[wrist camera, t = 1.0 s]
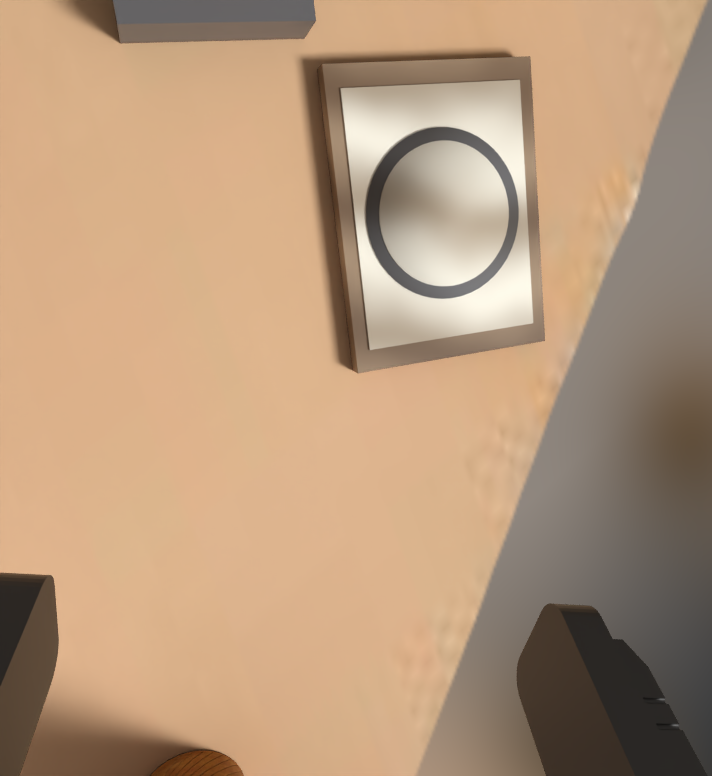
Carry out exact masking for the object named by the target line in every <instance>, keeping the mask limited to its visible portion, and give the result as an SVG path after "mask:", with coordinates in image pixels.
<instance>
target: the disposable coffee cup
mask: <svg viewBox="0 0 712 776" xmlns="http://www.w3.org/2000/svg"><path fill="white" fill-rule="evenodd" d="M150 776H244V775H243V773H242V770H241V769H240V767H239V766H238V765H237V763H236V762H235V761H233V760H232V759H231V758H230V757H228V756H225V755H223V754H221V753H218V752H214V751H194V752H188V753H184V754H181V755H178V756H176V757H174V758H172V759H170V760H168V761H167V762H165V763H164V764H163V765H161V766H160V767H159V768H157V769H156V770H155V771H154V772H153V773H152V774H151V775H150Z"/></svg>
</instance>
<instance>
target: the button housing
mask: <svg viewBox="0 0 712 776" xmlns="http://www.w3.org/2000/svg"><path fill="white" fill-rule="evenodd" d="M113 5H114V11H115V17H116V22H117V28H118V34H119V39H120V43H148V42H188V41H228V40H268V39H304V38H305V37H306V35H307V34H308V32H309V31H310V29H311V27H312V26H313V24H314V23H315V21H316V17H315V9H314V0H113Z"/></svg>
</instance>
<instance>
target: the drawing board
mask: <svg viewBox="0 0 712 776" xmlns="http://www.w3.org/2000/svg"><path fill="white" fill-rule="evenodd" d="M317 71H318V79H319V88H320V96H321V105H322V113H323V121H324V130H325V138H326V147H327V155H328V164H329V172H330V181H331V189H332V198H333V206H334V215H335V223H336V232H337V240H338V249H339V257H340V266H341V274H342V283H343V291H344V300H345V308H346V317H347V325H348V333H349V342H350V350H351V359H352V367H353V371H355V372H357V373H362V372H368V371H374V370H380V369H385V368H391V367H397V366H403V365H408V364H414V363H420V362H426V361H431V360H437V359H443V358H449V357H454V356H460V355H466V354H472V353H477V352H483V351H489V350H495V349H500V348H506V347H512V346H518V345H524V344H529V343H535V342H541V341H545V332H544V313H543V293H542V274H541V254H540V235H539V216H538V196H537V177H536V157H535V138H534V118H533V99H532V80H531V60H530V56H528V57H501V58H473V59H445V60H418V61H390V62H362V63H335V64H322V65H321V66H320V67H319V68H318V70H317Z"/></svg>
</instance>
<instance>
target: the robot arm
mask: <svg viewBox="0 0 712 776" xmlns="http://www.w3.org/2000/svg"><path fill="white" fill-rule="evenodd" d="M58 643H59V639H58V625H57V611H56V598H55V585H54V579H53V577H52V576H51V575H35V574H16V573H0V776H19V775H20V772H21V769H22V767H23V764H24V761H25V758H26V755H27V752H28V749H29V746H30V743H31V740H32V737H33V734H34V732H35V729H36V726H37V723H38V720H39V717H40V714H41V711H42V708H43V705H44V702H45V700H46V697H47V694H48V691H49V688H50V685H51V682H52V678H53V675H54V671H55V666H56V661H57V655H58ZM517 687H518V692H519V696H520V699H521V702H522V705H523V708H524V711H525V714H526V717H527V720H528V723H529V726H530V729H531V732H532V735H533V738H534V741H535V744H536V747H537V750H538V753H539V756H540V759H541V762H542V765H543V768H544V771H545V774H546V776H707V774H706V772H705V770H704V769H703V767H702V765H701V763H700V761H699V759H698V758H697V756H696V754H695V752H694V750H693V748H692V747H691V745H690V743H689V741H688V739H687V737H686V736H685V734H684V732H683V731H682V730H680V729H679V723H678V721H677V719H676V717H675V716H674V714H673V712H672V710H671V708H670V706H669V705H668V704H666V703H665V697H664V695H663V693H662V692H661V690H660V688H659V686H658V684H657V683H656V681H655V679H654V677H653V675H652V673H651V671H650V670H649V668H648V666H647V665H646V664H645V663H644V662H643V661H642V660H641V659H640V658H639V657H638V656H637V655H636V654H635V652H634V651H633V650H632V649H631V648H630V647H629V646H628V645H627V644H626V643H625V642H624V641H623V640H618V639H612V637H611V635H610V633H609V631H608V629H607V627H606V625H605V623H604V621H603V619H602V617H601V616H600V614H599V613H598V611H597V610H596V609H595V608H593V607H592V606H586V605H568V604H547V605H546V606H545V607H544V608H543V610H542V612H541V614H540V616H539V618H538V620H537V622H536V624H535V626H534V628H533V630H532V633H531V635H530V637H529V639H528V641H527V643H526V645H525V647H524V649H523V651H522V653H521V656H520V658H519V661H518V666H517Z"/></svg>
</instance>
